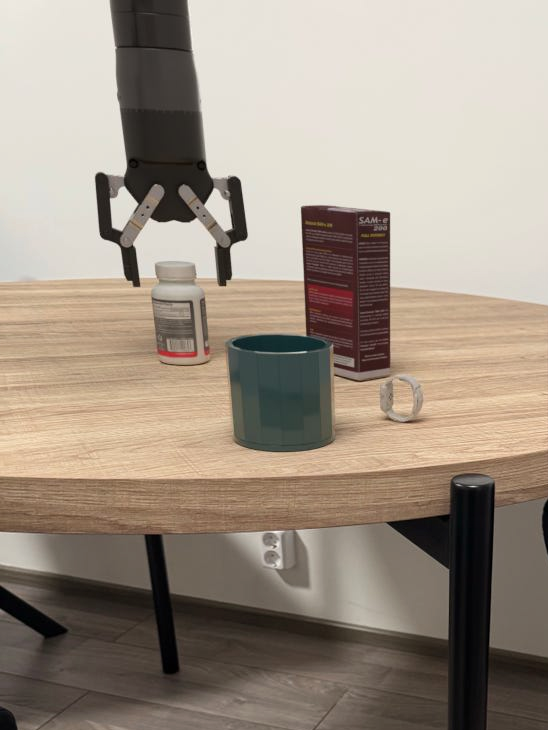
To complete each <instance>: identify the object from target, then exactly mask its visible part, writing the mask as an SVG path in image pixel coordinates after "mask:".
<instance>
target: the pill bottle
mask: <svg viewBox="0 0 548 730" xmlns="http://www.w3.org/2000/svg"><path fill="white" fill-rule="evenodd" d="M154 270H155V271H154V272H155V276H156V279H157V280H158V284H156V285H154V286H153V287H152V288H151V291H150V293H151V297H150V299H151V306H152V315H153V323H154V331H155V340H156V348H157V354H158V355H157V356H158V359H159V361H160V362H162V363H164V364H168V365H176V366H177V365H178V366H188V365H190V366H192V365H199V364H203V363H207V362H208V361H209V360H210V359H211V349H210V337H209V328H208V327H209V326H208V316H207V304H206V293H205V291H204V289H203V287H201V285H198V284H196V283H195V280H196V279H197V269H196V264H195V263H194V262H191V261H183V260H182V261H180V260H166V261H157V262H155V263H154Z"/></svg>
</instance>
